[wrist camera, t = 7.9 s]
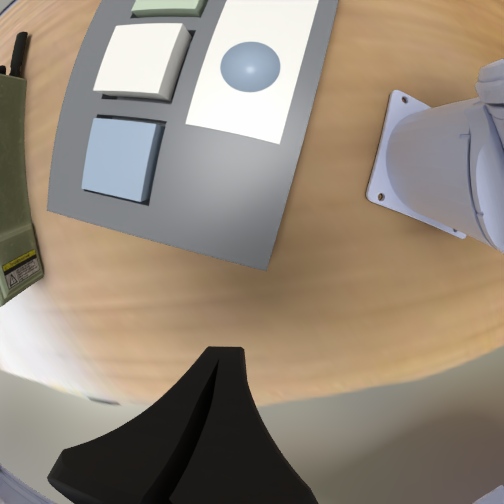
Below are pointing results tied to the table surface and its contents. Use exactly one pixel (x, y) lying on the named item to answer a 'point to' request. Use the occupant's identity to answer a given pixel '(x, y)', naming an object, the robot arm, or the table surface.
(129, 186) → the slate-blue key
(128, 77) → the off-white key
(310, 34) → the keypad
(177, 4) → the sage key
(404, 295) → the table surface
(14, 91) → the handheld radio
